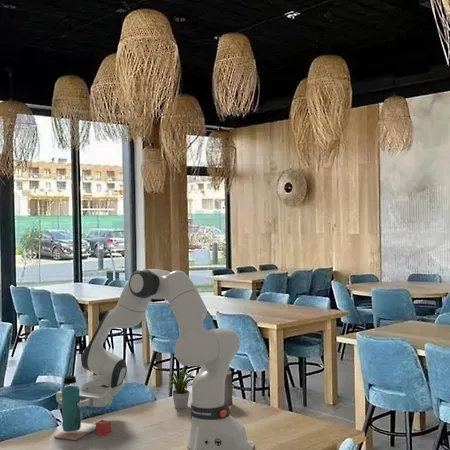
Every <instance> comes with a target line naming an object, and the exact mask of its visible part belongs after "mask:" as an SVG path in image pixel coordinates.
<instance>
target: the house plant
mask: <svg viewBox="0 0 450 450" xmlns="http://www.w3.org/2000/svg"><path fill="white" fill-rule="evenodd" d="M188 371H189V369H186V370H185V369H184V368H181V366H180V367H179V370H178V375H177V374H176V372H175V371H173V370H172V371H171V372H172V373H170V372H169V374H168V373H167V374H164V375H165V376H166V375H168V376H169V377H170V378H171V379H170V380H168V382H170V383H171V384H169V386H168V388H169V389H171V388H174V390H173V391H171V392H172V399H173V405H174V408H175V409H179V410H182V408H183V409H186V407H188V404H189V397H190V390H187V389H188V387H189V386H191V387H192V382H191V381H193V379H194V377H195V376H196V373H195V374H194V372H195V370H194V371H191V372H190V373H189V374H188V375H187V376H185V375H186V374H187V373H188ZM193 375H195V376H193Z"/></svg>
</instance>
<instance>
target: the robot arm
mask: <svg viewBox="0 0 450 450" xmlns="http://www.w3.org/2000/svg"><path fill="white" fill-rule="evenodd" d="M151 299H152V300H167V303H168V304H169V307H170V308H171V311H172V312H173V315H174V317H175V320H176V322H177V325H178V332H179V335H178V338H177V340H176V341H175V344H174V356H175V358H176V360H177V362H178V363H179V364H180V365H182V366H184V367H198V366H201V367H200V369H199V371H198V373H197V374H195V376H194V377H193V378H194V379H193V380H191V381H192V383H191V384H192V385H191V403H190V420H191V425H190V432H189V436H188V437H189V438H188V441H187V448H188V449H189V450H254V448H255V445H254V444H255V443H254V441H253V440H250V439H248V435H247V430H246V428H245V426H244V425H242V424H241V423H240V422H238V420H237V419H235V418H234V417H233V416H232V415H231V413H230V411H231V410H232V405H231V406H229V407H228V406H227V405H226V404H225V402H224V395H225V379H226V374H227V371H228V370H229V367H230V365H231V362H232V360H233V359H234V357H235V356H236V355H237V354H238V352H239V350H240V346H241V344H240V343H241V342H240V338H239V335H238V333H236V332H235V330H233V329H232V328H220V327H219V328H218V327H217V328H211V329H206V328H205V326H204V321H205V319H206V317H207V314H208V309H207V306H206V305H205V302H204V300H203V298H202V297H201V295H200V293H199V291H198V289H197V288H196V285H195V284H194V283H193V281H192V279H191V278H190V277H189V276H188V274H186V272H185V271H183V270H173V271H172V270H165V269H158V268H140V269H137V270H135V271H134V272H132V274H131V275H130V278H129V279H128V280H127V282H126V283H125V285H124V286H123V289H122V290H121V292H120V295H119V299H118V301H117V304H116V305H115V307H114V308H113V309H110V310H108V311H107V312H106V313H105V314H104V316H103V317H102V319H100V323H99V324H98V326H97V328H96V330H95V331H94V334H93V335H92V337H91V340H90V341H89V343H88V345H87V346H86V348H85V349H84V350H83V352H82V354H81V356H80V362H81V367H82V368H83V369H84V370H87V371H89V372H92V373H94V374H95V375H97V376H98V377H97V378H96V379H93V380H90V381H87V382H86V383H84V384H83V385H82V386H81V388H79V395H80V401H79V402H77V407H80V408H83V407H94V408H104V407H106V406H110V405H112V402H113V397H114V396H116V395H117V394H119V392H120V391H121V390H122V388H123V386H124V380H125V379H126V375H127V372H128V370H127V369H128V367H127V363H126V360H125V359H123V357H120V356H118V355H116V354H114V353H112V352H110V351H109V350H106V349H105V348H104V343H105V341H106V339H107V337H108V336H109V333H110V332H111V330H112V329H113V328H116V329H117V328H118V329H130V328H135V327H136V326H138V325H140V323H141V322H142V320H143V319H144V317H145V314H146V311H147V308H148V305H149V302H150V300H151ZM55 399H56V400H55V401H56V402H57V403H58V405H61V406H62V391H61V390H59V391H57V392H56V393H55Z"/></svg>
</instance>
